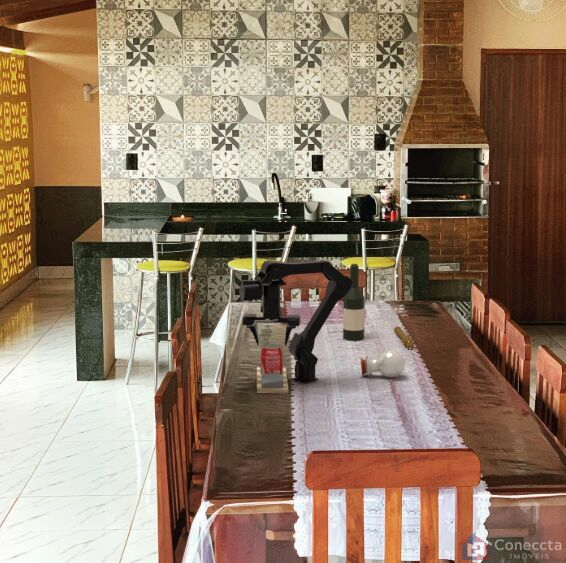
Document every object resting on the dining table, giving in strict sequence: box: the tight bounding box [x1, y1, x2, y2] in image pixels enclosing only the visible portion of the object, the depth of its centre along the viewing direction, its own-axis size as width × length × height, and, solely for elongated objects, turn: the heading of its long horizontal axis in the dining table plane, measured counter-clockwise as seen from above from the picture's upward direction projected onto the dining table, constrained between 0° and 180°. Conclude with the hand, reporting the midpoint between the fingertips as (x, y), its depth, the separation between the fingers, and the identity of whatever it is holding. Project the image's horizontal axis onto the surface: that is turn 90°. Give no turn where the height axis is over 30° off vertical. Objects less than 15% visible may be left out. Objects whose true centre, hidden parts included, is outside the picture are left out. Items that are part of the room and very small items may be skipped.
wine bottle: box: [342, 263, 366, 342], centre depth 392 cm, size 8×8×30 cm
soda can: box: [260, 343, 284, 376], centre depth 326 cm, size 7×7×12 cm
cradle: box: [256, 364, 289, 394], centre depth 332 cm, size 28×10×6 cm, turn 2°
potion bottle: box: [360, 349, 406, 379], centre depth 337 cm, size 9×10×15 cm
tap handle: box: [393, 326, 414, 349], centre depth 390 cm, size 3×3×30 cm
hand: (271, 345), depth 328 cm, fingers open, 9 cm apart
